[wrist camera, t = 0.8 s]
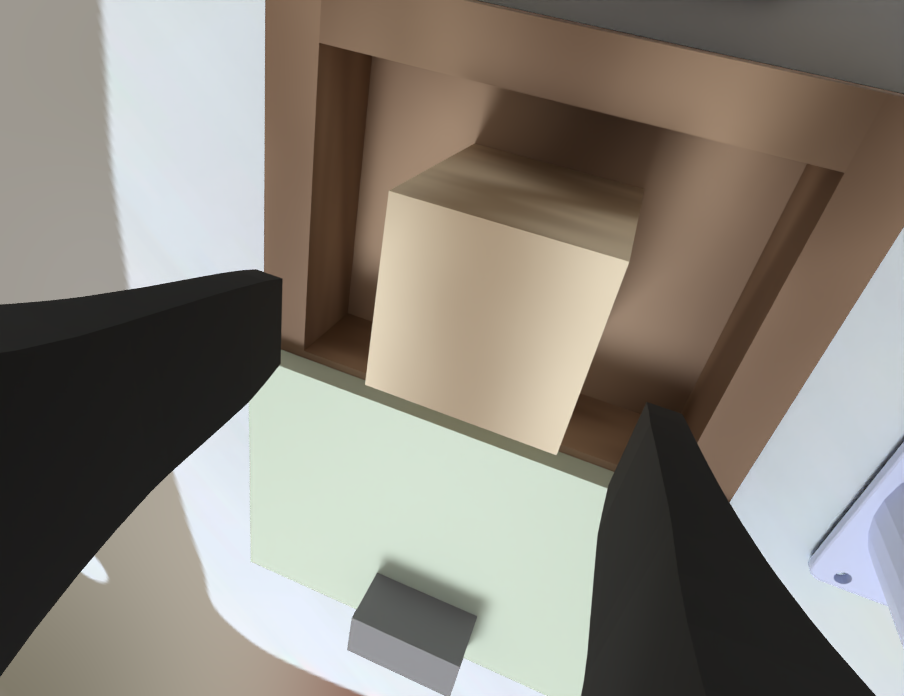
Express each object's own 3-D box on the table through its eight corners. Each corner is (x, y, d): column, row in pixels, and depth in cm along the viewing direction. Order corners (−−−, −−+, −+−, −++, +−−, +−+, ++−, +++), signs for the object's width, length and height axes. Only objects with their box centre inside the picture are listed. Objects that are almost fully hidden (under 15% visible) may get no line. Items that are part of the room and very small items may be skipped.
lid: (723, 512, 16) (731, 592, 14) (604, 699, 22) (596, 779, 19) (263, 342, 19) (205, 386, 17) (262, 547, 25) (218, 601, 22)
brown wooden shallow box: (911, 95, 13) (975, 113, 10) (611, 624, 25) (602, 702, 22) (339, -30, 16) (265, -44, 13) (306, 496, 28) (262, 550, 25)
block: (644, 189, 16) (629, 261, 11) (589, 341, 18) (556, 455, 13) (474, 143, 17) (388, 191, 12) (445, 294, 19) (365, 384, 14)
